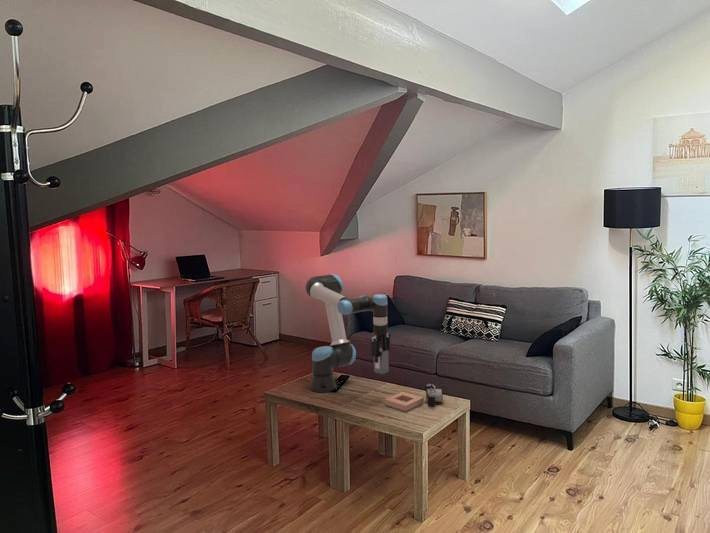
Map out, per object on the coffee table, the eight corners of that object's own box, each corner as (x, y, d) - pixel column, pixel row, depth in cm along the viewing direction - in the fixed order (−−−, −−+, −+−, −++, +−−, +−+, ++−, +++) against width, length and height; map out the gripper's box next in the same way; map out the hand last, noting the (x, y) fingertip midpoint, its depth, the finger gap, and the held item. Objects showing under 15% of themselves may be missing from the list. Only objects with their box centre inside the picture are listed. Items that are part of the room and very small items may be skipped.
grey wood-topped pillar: (374, 372, 309) (373, 350, 307) (380, 369, 312) (379, 348, 311) (382, 374, 304) (382, 352, 303) (388, 371, 308) (388, 350, 306)
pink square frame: (384, 405, 304) (384, 399, 304) (402, 397, 315) (402, 391, 314) (405, 412, 295) (405, 405, 294) (423, 404, 305) (423, 397, 305)
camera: (443, 408, 299) (443, 390, 298) (425, 408, 300) (425, 389, 298) (441, 397, 314) (441, 380, 313) (424, 397, 315) (424, 380, 314)
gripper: (374, 328, 296) (375, 372, 299) (396, 322, 309) (397, 364, 312) (363, 326, 301) (364, 369, 304) (386, 320, 314) (386, 361, 317)
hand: (381, 366), depth 308 cm, fingers closed on grey wood-topped pillar, 5 cm apart
